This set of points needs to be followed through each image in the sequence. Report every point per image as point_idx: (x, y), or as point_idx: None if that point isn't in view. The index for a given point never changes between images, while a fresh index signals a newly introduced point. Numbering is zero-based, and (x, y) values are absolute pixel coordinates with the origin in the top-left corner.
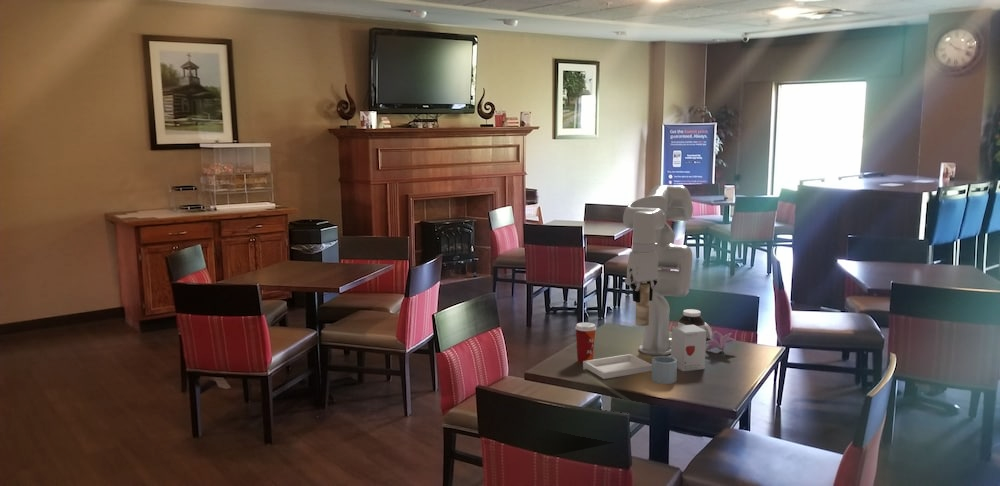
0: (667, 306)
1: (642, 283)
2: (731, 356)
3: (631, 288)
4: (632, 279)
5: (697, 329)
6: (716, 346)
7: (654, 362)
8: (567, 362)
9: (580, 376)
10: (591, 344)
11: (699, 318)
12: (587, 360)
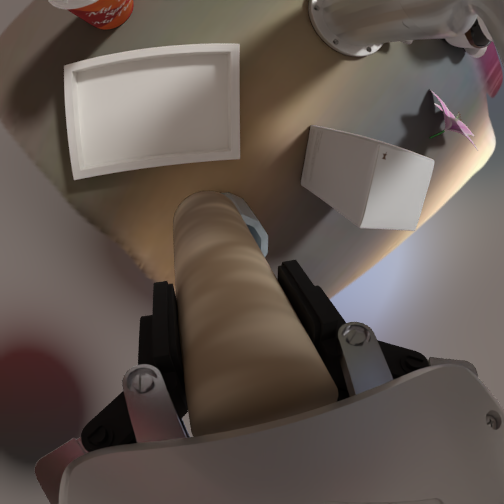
0: (459, 35)
1: (281, 405)
2: (440, 141)
3: (120, 394)
4: (163, 442)
5: (408, 213)
6: (444, 117)
7: None
8: (65, 10)
9: (43, 122)
10: (102, 15)
11: (487, 42)
12: (77, 62)
